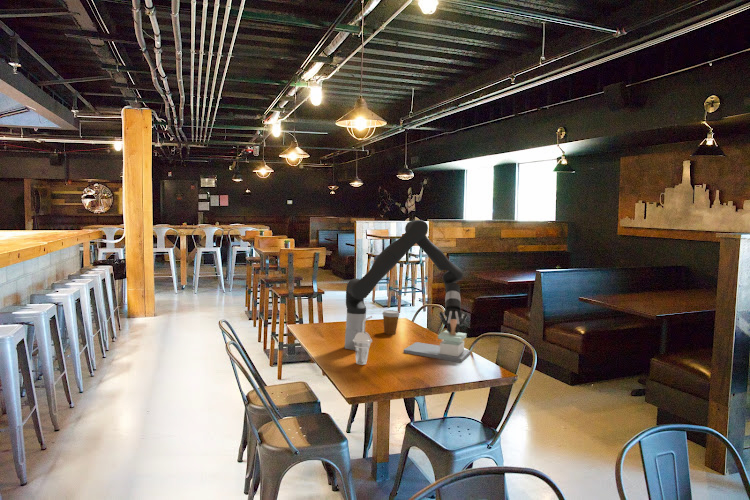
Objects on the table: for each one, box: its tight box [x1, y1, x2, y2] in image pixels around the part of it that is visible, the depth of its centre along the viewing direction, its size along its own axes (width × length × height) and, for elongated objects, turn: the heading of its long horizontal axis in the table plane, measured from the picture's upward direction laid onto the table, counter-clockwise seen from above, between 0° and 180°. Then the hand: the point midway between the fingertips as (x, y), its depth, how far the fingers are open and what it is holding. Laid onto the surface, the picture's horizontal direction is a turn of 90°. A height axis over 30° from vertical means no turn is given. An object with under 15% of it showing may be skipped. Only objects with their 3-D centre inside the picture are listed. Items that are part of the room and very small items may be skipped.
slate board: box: [402, 341, 472, 363], centre depth 239 cm, size 18×28×2 cm, turn 66°
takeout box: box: [439, 340, 465, 356], centre depth 236 cm, size 11×9×5 cm
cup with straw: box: [353, 315, 373, 366], centre depth 215 cm, size 8×9×20 cm
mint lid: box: [437, 319, 468, 342], centre depth 236 cm, size 12×10×9 cm
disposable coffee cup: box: [382, 309, 400, 335], centre depth 276 cm, size 10×10×12 cm
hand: (453, 332), depth 234 cm, fingers closed on mint lid, 3 cm apart
